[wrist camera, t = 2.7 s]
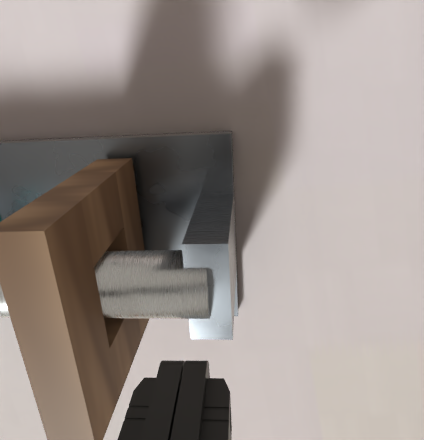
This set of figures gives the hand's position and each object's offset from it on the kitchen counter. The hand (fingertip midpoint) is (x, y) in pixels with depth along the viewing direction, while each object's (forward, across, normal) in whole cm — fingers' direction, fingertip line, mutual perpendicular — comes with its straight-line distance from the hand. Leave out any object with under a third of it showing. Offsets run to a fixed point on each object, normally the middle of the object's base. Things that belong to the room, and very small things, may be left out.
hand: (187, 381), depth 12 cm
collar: (+11, +5, 0) cm, 12 cm away
